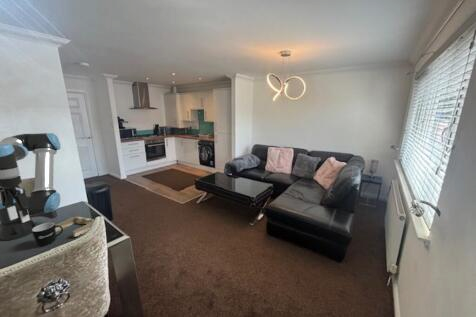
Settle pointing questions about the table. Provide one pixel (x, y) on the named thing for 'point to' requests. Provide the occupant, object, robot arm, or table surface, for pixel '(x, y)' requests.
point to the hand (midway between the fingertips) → (20, 220)
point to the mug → (45, 233)
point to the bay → (76, 220)
